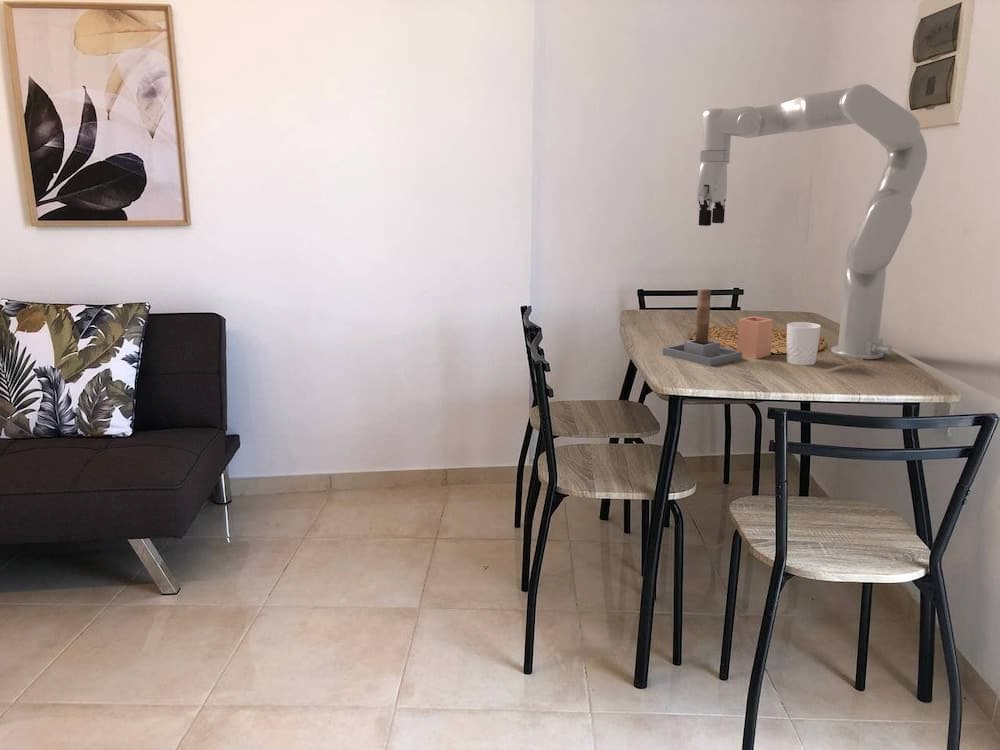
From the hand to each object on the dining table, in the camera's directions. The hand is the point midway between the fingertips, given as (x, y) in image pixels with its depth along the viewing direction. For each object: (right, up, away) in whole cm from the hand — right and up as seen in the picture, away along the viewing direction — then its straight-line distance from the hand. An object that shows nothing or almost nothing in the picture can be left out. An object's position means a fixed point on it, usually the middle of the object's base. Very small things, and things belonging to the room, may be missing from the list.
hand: (711, 224), depth 210 cm
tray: (-4, -36, -7) cm, 37 cm away
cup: (+9, -36, -5) cm, 37 cm away
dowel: (-5, -35, -7) cm, 36 cm away
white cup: (+19, -38, -13) cm, 44 cm away
